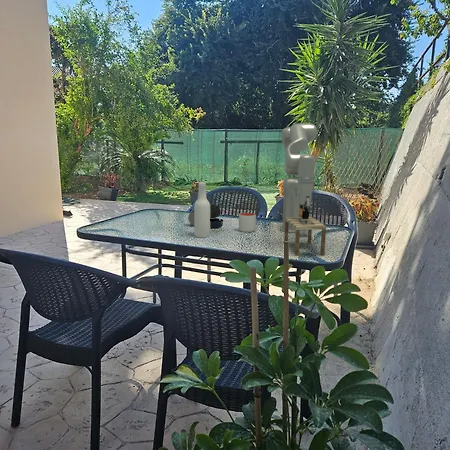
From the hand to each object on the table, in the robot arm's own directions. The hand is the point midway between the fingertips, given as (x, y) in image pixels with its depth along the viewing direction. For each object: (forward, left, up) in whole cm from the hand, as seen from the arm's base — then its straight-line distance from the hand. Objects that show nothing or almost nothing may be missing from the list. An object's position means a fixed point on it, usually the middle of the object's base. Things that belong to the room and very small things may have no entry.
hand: (303, 217), depth 197 cm
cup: (-39, -22, -16) cm, 47 cm away
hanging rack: (+2, 0, -16) cm, 16 cm away
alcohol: (-28, -49, -16) cm, 59 cm away
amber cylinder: (0, 0, -10) cm, 10 cm away
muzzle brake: (-63, -46, -16) cm, 79 cm away
